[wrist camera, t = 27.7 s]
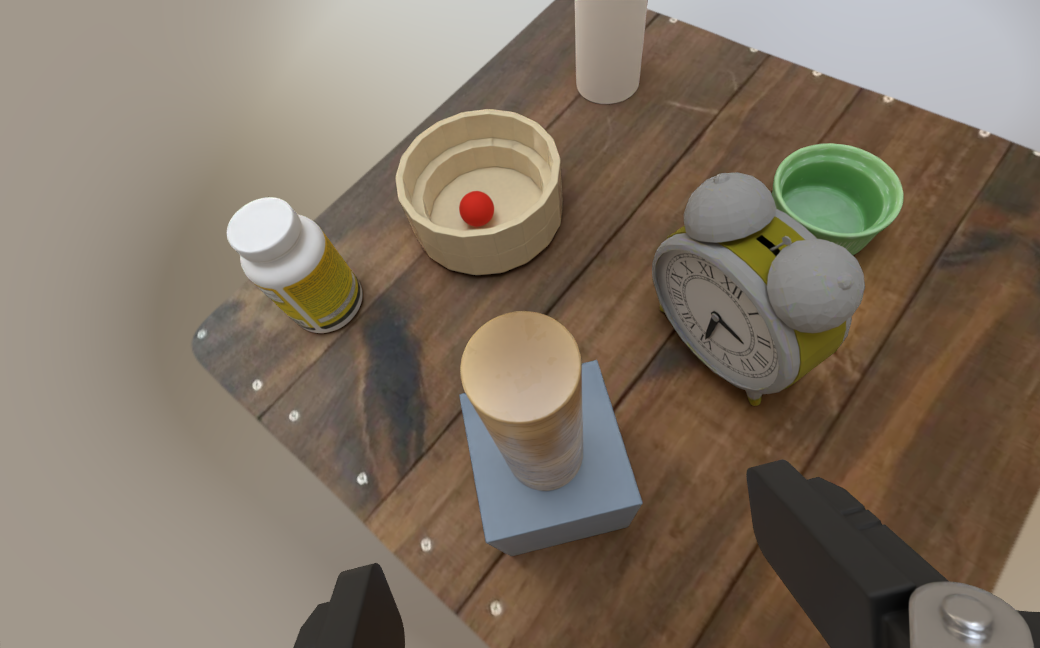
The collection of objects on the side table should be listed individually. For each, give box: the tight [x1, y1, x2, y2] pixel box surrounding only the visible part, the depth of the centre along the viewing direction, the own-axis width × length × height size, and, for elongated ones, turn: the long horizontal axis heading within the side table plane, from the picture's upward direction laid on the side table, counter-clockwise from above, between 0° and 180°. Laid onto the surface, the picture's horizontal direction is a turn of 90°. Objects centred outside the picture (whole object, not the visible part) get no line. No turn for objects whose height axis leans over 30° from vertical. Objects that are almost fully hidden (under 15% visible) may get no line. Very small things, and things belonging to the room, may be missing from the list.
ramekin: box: [772, 144, 903, 255], centre depth 42 cm, size 9×9×4 cm
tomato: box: [459, 191, 494, 227], centre depth 46 cm, size 3×3×3 cm
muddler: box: [460, 311, 583, 491], centre depth 23 cm, size 4×4×12 cm
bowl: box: [395, 109, 563, 275], centre depth 46 cm, size 13×13×6 cm
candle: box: [575, 0, 648, 104], centre depth 48 cm, size 6×6×15 cm
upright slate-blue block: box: [460, 360, 642, 556], centre depth 33 cm, size 8×8×10 cm
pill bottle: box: [227, 197, 362, 333], centre depth 41 cm, size 6×6×11 cm
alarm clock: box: [652, 173, 865, 406], centre depth 34 cm, size 12×7×15 cm, turn 34°
